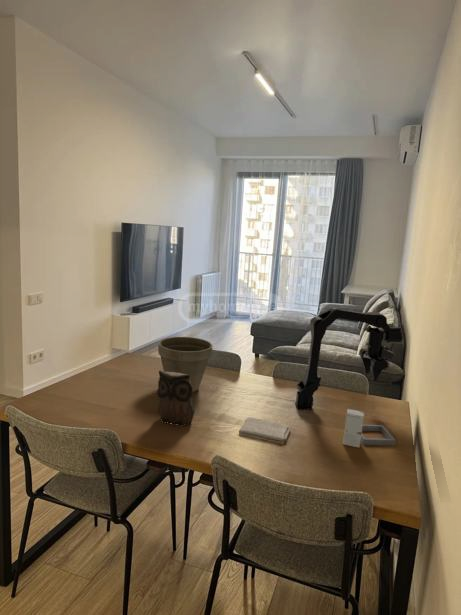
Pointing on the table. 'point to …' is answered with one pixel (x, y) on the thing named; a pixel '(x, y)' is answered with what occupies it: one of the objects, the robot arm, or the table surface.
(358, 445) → the skincare box
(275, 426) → the washcloth
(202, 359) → the plant pot
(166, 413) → the owl
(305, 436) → the table surface
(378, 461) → the table surface
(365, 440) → the socket
